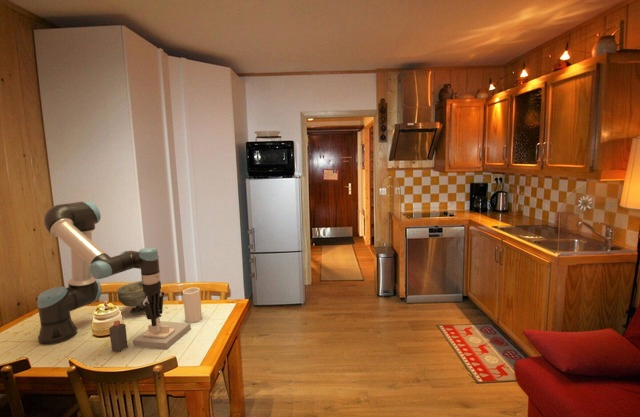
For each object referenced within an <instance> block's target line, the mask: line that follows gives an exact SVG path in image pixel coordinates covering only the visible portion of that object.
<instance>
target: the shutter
mask: <svg viewBox="0 0 640 417" xmlns="http://www.w3.org/2000/svg"><path fill="white" fill-rule="evenodd" d="M147 328H148V329H147V330H149V331H147V330H146V331H147V332H146V333H145V334H143V336H145V337H157V338H166V337H168V336H169V335H170V334H171V333H173V332H174V331H175V329H171V328H169V326H167V325H160V331H159V332H153V328H152V323H150V324H148V325H147Z"/></svg>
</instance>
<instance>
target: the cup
mask: <svg viewBox="0 0 640 417" xmlns="http://www.w3.org/2000/svg"><path fill="white" fill-rule="evenodd" d="M182 297H183V309H184V321H185V323H190V324H195V323H198V322H200V321H202V319H203V314H202V300H201V291H200V288H199V287H188V288H186V289H183V291H182ZM194 322H195V323H194Z"/></svg>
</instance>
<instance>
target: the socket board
mask: <svg viewBox="0 0 640 417" xmlns="http://www.w3.org/2000/svg"><path fill="white" fill-rule="evenodd" d="M159 324H160V325H167V326H169V328H171V329H175V331H174V332H173V333H171V334H170V335H169V336H168V337H166V338H157V337H145V336H143V334H145V333H146V332H147V331H149V330H148V329H146V330H145V331H144V332H143V333H141V334H140V335H138V336H136V337H135V338H134V339H132V345H133V347H135V348H136V347H137V348H148V349H156V350H157V349H159V350H168V349H169V348H171V347H172V346H173V345H174V344H175V343H176V342H177V341H178V340H180V339H181V338H183V337H184V335H186V334H187V333H189V331H191V329H192V328H191V326H192V325H191V323H187V322H179V321H178V322H177V321H175V322H174V321H163V320H160V323H159Z"/></svg>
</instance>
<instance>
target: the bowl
mask: <svg viewBox="0 0 640 417" xmlns="http://www.w3.org/2000/svg"><path fill="white" fill-rule="evenodd" d="M142 284H143V283H142V280H139V281H135V282H131V283H127V284H124V285H122V286H120V287H118V289H117V298H118V301H119V302H120V303H121V304H122V305H124V306H125V307H132V308H130V310H129V314H130V315H132V316H138V315H139V316H140V315H143V314H145V310H144V307H143V305H142V304H141V302H144V300H145V293H144V292H143V286H142Z"/></svg>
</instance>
